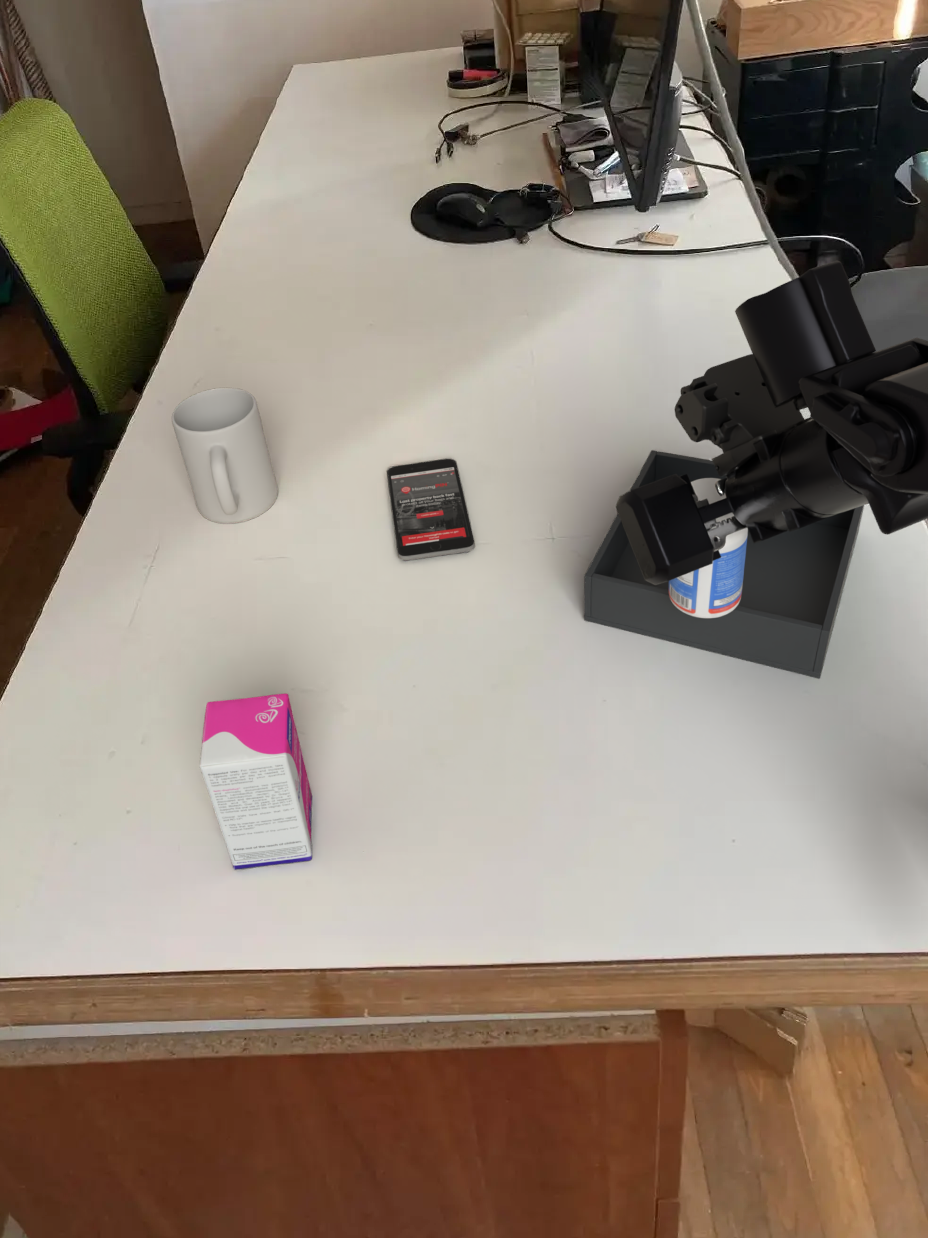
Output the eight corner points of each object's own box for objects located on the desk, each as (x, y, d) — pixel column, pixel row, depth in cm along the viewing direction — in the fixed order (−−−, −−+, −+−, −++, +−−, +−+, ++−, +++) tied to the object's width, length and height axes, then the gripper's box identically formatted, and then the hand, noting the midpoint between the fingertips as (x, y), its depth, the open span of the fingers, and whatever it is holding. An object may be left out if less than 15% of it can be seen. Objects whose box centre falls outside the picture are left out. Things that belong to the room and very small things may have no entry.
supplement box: (316, 861, 71) (286, 756, 64) (232, 872, 71) (192, 768, 64) (316, 794, 76) (288, 689, 69) (237, 804, 76) (200, 700, 69)
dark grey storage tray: (858, 532, 92) (868, 487, 89) (819, 679, 79) (829, 632, 76) (649, 492, 100) (651, 449, 96) (584, 620, 87) (584, 575, 84)
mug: (198, 482, 109) (172, 394, 102) (277, 469, 109) (256, 380, 102) (195, 552, 100) (166, 460, 93) (281, 537, 100) (259, 444, 93)
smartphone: (397, 557, 95) (386, 466, 106) (398, 563, 95) (386, 472, 107) (475, 546, 95) (455, 457, 106) (476, 552, 95) (455, 462, 107)
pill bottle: (741, 576, 79) (753, 473, 73) (740, 623, 75) (753, 519, 69) (668, 571, 81) (675, 469, 75) (664, 617, 77) (670, 514, 71)
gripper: (895, 299, 63) (761, 382, 78) (635, 387, 58) (546, 456, 73) (967, 466, 62) (818, 517, 77) (709, 569, 57) (604, 601, 72)
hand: (698, 519), depth 75 cm, fingers closed on pill bottle, 5 cm apart
